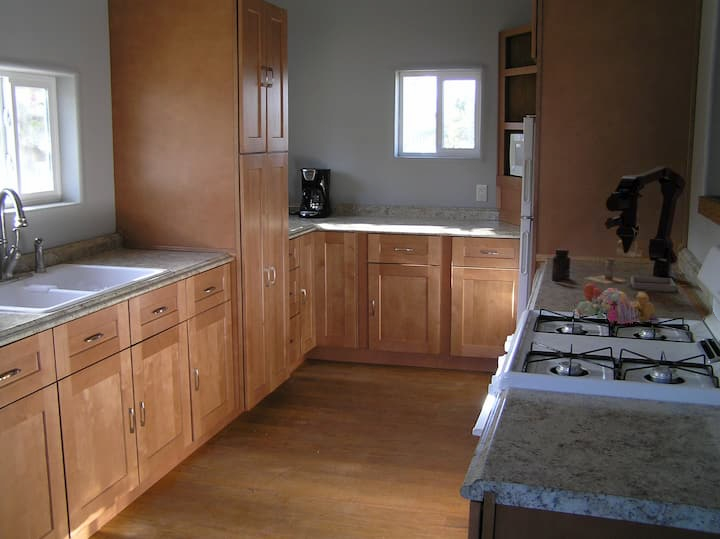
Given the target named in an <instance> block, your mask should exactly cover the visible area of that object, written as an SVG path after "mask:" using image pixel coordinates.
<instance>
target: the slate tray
mask: <svg viewBox="0 0 720 539" xmlns="http://www.w3.org/2000/svg"><path fill="white" fill-rule="evenodd" d="M636 282H637V283H636ZM638 282H639V283H638ZM640 282H641V283H640ZM630 283H631V285H632V289H638V290H637V291H638V292H657V293H659V292H660V293H661V292H662V293H676V290H677V289H676V288H677V285H676V283H675V282H674V280H673V278H660V277H653V276H652V277H650V276H649V277H648V276H630ZM654 283H655V284H654Z"/></svg>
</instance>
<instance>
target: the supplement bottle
mask: <svg viewBox="0 0 720 539" xmlns="http://www.w3.org/2000/svg"><path fill="white" fill-rule="evenodd" d="M554 254H555V255H554V256H553V257H552V260H551V264H552V265H551V281H553V282H557V283H562V281H570V279H571V267H572V265H571V264H572V258H571V257H570V256H569V255H570V254H569V249H567V248H566V249H565V248H556V249H555V252H554Z"/></svg>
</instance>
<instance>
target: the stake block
mask: <svg viewBox="0 0 720 539" xmlns="http://www.w3.org/2000/svg"><path fill="white" fill-rule="evenodd" d="M604 260H605V268H604V269H605V270H604V271H605V272H604V274H603V275H595V276H588V277H582V279H584V280H588V281H593V282H598V283H602V284H612V283H613V284H614V283H620V282H629V279H624V278H618V277H615V276H614V262H615V261H616V260H615V258H611V257H610V258H609V257H605V258H604Z"/></svg>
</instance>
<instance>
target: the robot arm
mask: <svg viewBox="0 0 720 539" xmlns="http://www.w3.org/2000/svg"><path fill="white" fill-rule="evenodd" d="M653 182H657V184H659V185H660V188H659V189H660V193H661V195H662V202H661V203H662V204H661V210H660V214H659V220H658V226H657V231H656V235H655V236H654V237H652V238H650V239H649V244H648V247H647V249H648V255H649V261H651V262H653V269H652V274H650V275H649V277H650V276H652V277H654V278H671V279H673V278H675V277H674V276H673V275H671V273H672V264H675V263H677V261H678V256H677V255H676V253H675V252H674V243H673V241H672V238H671V234H672V229H673V225H674V224H673V222H674V218H675V212H676V207H677V202H678V201H677V200H678V199H679V198H680V197H681V196H682V194H683V193H684V189H685V186H686V180H685V179H684V176H681V175H680V174H679V173H678V172H676V171H674V170H673V169H672V168H670V167H669V166H662V165H658V166H656V167H655V168H652V169H649V170H647V171H644V172H641V173H640V174H628V175H626V174H625V175H623V176H622V177H621V179H620V181H619V182H618V184H617V187H616V188H615V190H614V191H613V192H611V193H610V196H609V197H608V198H607V199H606V201H605V207H606V209H607V210H608V211H609V212H611V213H613V212H619V216H615V217H612V216H610V217H607V218H606V220H604V226H605V227H606V230H610V229H611V228H615V227H618V228H617V229H616V231H615V232H616V233H615V236H617V237H619V239H620V240H622V244H623V249H624V253H628V251H629V248H630V246H631V244H632V242H633V241H636V239H637V237H638V235H639V231H641V224H639V222H638V216H639V198H643V195H642V194H641V193H640V192H642V190H644V189H645V187H646V185H649V184H651V183H653Z"/></svg>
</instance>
